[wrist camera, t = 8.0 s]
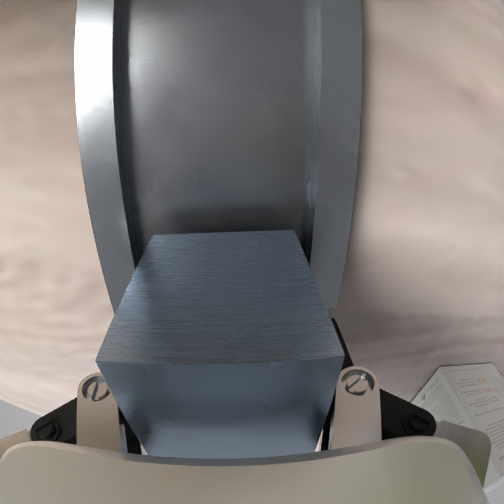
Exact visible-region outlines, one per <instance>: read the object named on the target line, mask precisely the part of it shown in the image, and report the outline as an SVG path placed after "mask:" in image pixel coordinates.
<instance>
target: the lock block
mask: <svg viewBox="0 0 504 504" xmlns="http://www.w3.org/2000/svg"><path fill="white" fill-rule="evenodd" d="M344 357H345V354H344V351H343V349H342V346H341V344H340V341H339V338H338V336H337V333H336V331H335V328H334V326H333V323H332V320H331V318H330V315H329V313H328V310H327V308H326V305H325V303H324V300H323V298H322V295H321V293H320V291H319V288H318V286H317V283H316V281H315V278H314V276H313V274H312V271H311V269H310V266H309V264H308V262H307V259H306V257H305V254H304V252H303V250H302V247H301V245H300V243H299V240H298V238H297V236H296V233H295V231H294V230H280V231H247V232H218V233H192V234H169V235H153V236H152V238H151V240H150V242H149V244H148V246H147V248H146V250H145V252H144V254H143V256H142V258H141V260H140V262H139V264H138V266H137V268H136V270H135V272H134V274H133V276H132V278H131V280H130V282H129V285H128V287H127V289H126V291H125V293H124V295H123V297H122V300H121V302H120V304H119V306H118V308H117V311H116V313H115V315H114V317H113V320H112V322H111V324H110V327H109V329H108V331H107V334H106V336H105V338H104V341H103V343H102V346H101V348H100V350H99V353H98V355H97V358H96V360H95V361H96V363H97V365H98V367H99V369H100V371H101V373H102V375H103V377H104V379H105V381H106V383H107V385H108V387H109V389H110V391H111V393H112V395H113V397H114V398H115V400H116V402H117V404H118V406H119V408H120V409H121V411H122V413H123V415H124V416H125V418H126V420H127V422H128V423H129V425H130V427H131V428H132V430H133V432H134V433H135V435H136V437H137V438H138V440H139V441H140V443H141V445H142V446H143V448H144V449H145V451H146V452H147V454H148V455H150V456H162V457H177V458H203V459H231V458H257V457H272V456H284V455H294V454H303V453H311V452H315V449H316V446H317V443H318V441H319V438H320V435H321V432H322V429H323V426H324V423H325V420H326V417H327V414H328V411H329V408H330V405H331V402H332V399H333V395H334V392H335V389H336V385H337V382H338V379H339V375H340V372H341V368H342V365H343V361H344Z"/></svg>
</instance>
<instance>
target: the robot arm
mask: <svg viewBox="0 0 504 504" xmlns="http://www.w3.org/2000/svg"><path fill="white" fill-rule="evenodd" d="M331 320H332V323H333V326H334V328H335V331H336V333H337V336H338V338H339V341H340V344H341V346H342V349H343V351H344V354H345V357H344V361H343V365H342V368H341V372H340V375H339V379H338V382H337V385H336V389H335V392H334V395H333V399H332V402H331V405H330V408H329V411H328V414H327V417H326V420H325V423H324V426H323V429H322V432H321V437H320V445H319V451H318V452H311V453H303V454H294V455H284V456H272V457H257V458H231V459H203V458H177V457H162V456H150V455H145V450H144V448H143V446H142V445H141V443H140V441H139V440H138V438H137V437H136V435H135V433H134V432H133V430H132V428H131V427H130V425H129V423H128V422H127V420H126V418H125V416H124V415H123V413H122V411H121V409H120V408H119V406H118V404H117V402H116V400H115V398H114V397H113V395H112V393H111V391H110V389H109V387H108V385H107V383H106V381H105V379H104V377H103V375H102V373H94V374H91V375H89V376H87V377H85V378H84V379H83V380H82V381H81V383H80V384H79V387H78V395H77V398H75V399H73V400H71V401H70V402H68V403H66V404H64V405H63V406H61V407H59V408H57V409H55V410H54V411H52V412H50V413H48V414H46V415H45V416H43V417H41V418H39V419H38V420H37V421H36V422H35V423H34V424H33V426H32V428H31V431H27V430H26V429H25V430H23V431H20V432H18V433H16V434H13V435H10V436H8V437H5V438H3V439H1V440H0V504H489V503H488V500H487V497H486V495H485V492H484V490H483V486H484V482H485V477H486V473H487V468H488V463H489V458H490V452H491V441H490V438H489V437H488V436H487V435H486V433H484V432H481V431H478V430H475V429H471V428H468V427H464V426H461V425H458V424H454V423H451V422H448V421H445V420H441V421H440V422H438V421H435V419H434V416H433V415H432V414H431V413H430V412H428V411H427V410H425V409H423V408H421V407H419V406H416V405H414V404H412V403H410V402H407V401H405V400H403V399H401V398H399V397H397V396H394V395H392V394H390V393H388V392H386V391H384V390H382V389H379V381H378V378H377V376H376V375H375V374H374V373H373V372H372V371H371V370H369V369H367V368H365V367H360V366H354V365H353V363H352V360H351V358H350V355H349V353H348V350H347V348H346V345H345V343H344V340H343V338H342V335H341V333H340V330H339V328H338V325H337V323H336V321H335V319H334V318H331Z"/></svg>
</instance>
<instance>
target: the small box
mask: <svg viewBox="0 0 504 504" xmlns="http://www.w3.org/2000/svg"><path fill="white" fill-rule="evenodd" d="M411 403H412V404H414V405H416V406H419V407H421V408H423V409H425V410H427V411H428V412H430V413H431V414H432V415H433V416H434V419H435V421H438V422H440V421H441V420H445V421H448V422H451V423H454V424H458V425H461V426H464V427H468V428H471V429H475V430H478V431H481V432H484V433H486V435H487V436H488V437H489V438H490V441H491V452H490V458H489V463H488V468H487V473H486V477H485V482H484V486H483V490H484V492H485V493H486V492H488V491H490V490H491V489H493V488H495V487H496V486H498V485H499V484H501V483H502V482H504V378H503V377H502V375H501V374H500V373H499V371H498V370H497V368H496V367H495V366H494V364H493V363H485V364H473V365H460V366H445V367H439V368H438V369H437V370H436V372H435V373H434V374H433V376H432V377H431V378H430V380H429V381H428V382H427V383H426V385H425V386H424V387H423V388H422V390H421V391H420V392H419V393H418V395H417V396H416V397H415V398H414V399H413V400H412V402H411Z"/></svg>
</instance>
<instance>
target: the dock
mask: <svg viewBox="0 0 504 504" xmlns="http://www.w3.org/2000/svg"><path fill="white" fill-rule="evenodd" d="M362 63H363V48H362V9H361V0H77V11H76V26H75V97H76V114H77V127H78V138H79V147H80V156H81V164H82V171H83V178H84V185H85V191H86V197H87V203H88V208H89V213H90V219H91V224H92V228H93V233H94V238H95V242H96V247H97V251H98V255H99V259H100V263H101V267H102V271H103V275H104V279H105V283H106V286H107V290H108V293H109V297H110V300H111V304H112V307H113V310H114V314H115V313H116V311H117V308H118V306H119V304H120V302H121V300H122V297H123V295H124V293H125V291H126V289H127V287H128V285H129V282H130V280H131V278H132V276H133V274H134V272H135V270H136V268H137V266H138V264H139V262H140V260H141V258H142V256H143V254H144V252H145V250H146V248H147V246H148V244H149V242H150V240H151V238H152V236H153V235H169V234H192V233H218V232H247V231H280V230H294V231H295V233H296V236H297V238H298V240H299V243H300V245H301V247H302V250H303V252H304V254H305V257H306V259H307V262H308V264H309V266H310V269H311V271H312V274H313V276H314V278H315V281H316V283H317V286H318V288H319V291H320V293H321V295H322V298H323V300H324V303H325V305H326V308H327V310H328V313H329V311H330V309H332V308H337V307H338V302H339V297H340V291H341V286H342V280H343V274H344V268H345V262H346V255H347V249H348V242H349V235H350V228H351V220H352V212H353V204H354V195H355V186H356V176H357V165H358V153H359V140H360V124H361V104H362Z"/></svg>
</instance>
